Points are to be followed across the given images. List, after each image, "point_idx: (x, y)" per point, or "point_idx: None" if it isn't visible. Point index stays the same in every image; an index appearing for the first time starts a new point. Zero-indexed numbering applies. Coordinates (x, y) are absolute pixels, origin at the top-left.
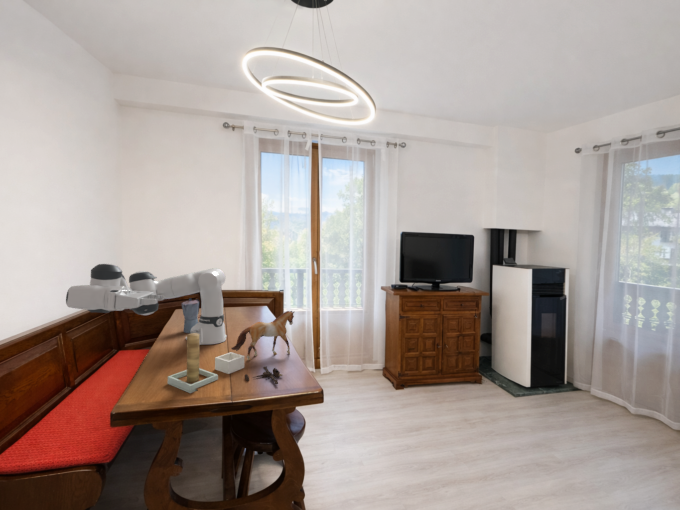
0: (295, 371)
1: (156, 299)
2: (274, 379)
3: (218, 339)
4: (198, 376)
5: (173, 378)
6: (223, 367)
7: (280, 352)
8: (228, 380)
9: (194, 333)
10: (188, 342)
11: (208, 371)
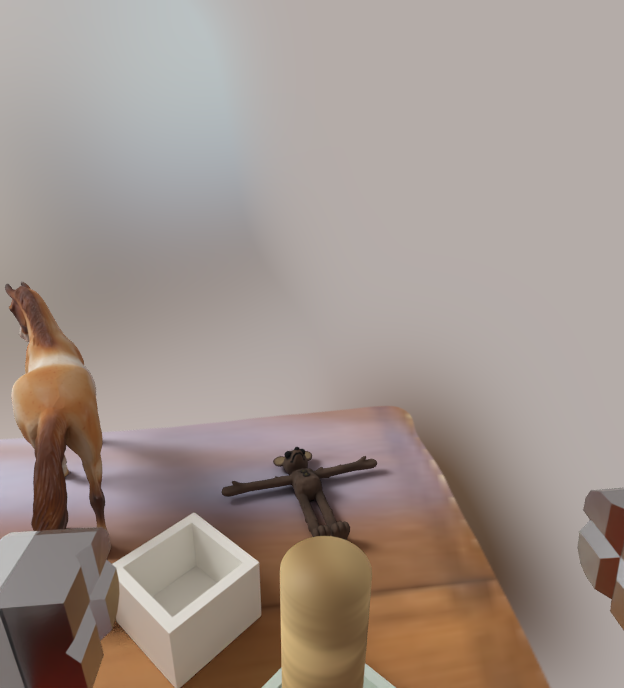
0: (262, 432)
1: (615, 488)
2: (351, 464)
3: None
4: None
5: None
6: (230, 614)
7: None
8: None
9: (287, 569)
10: (364, 627)
11: (267, 683)
